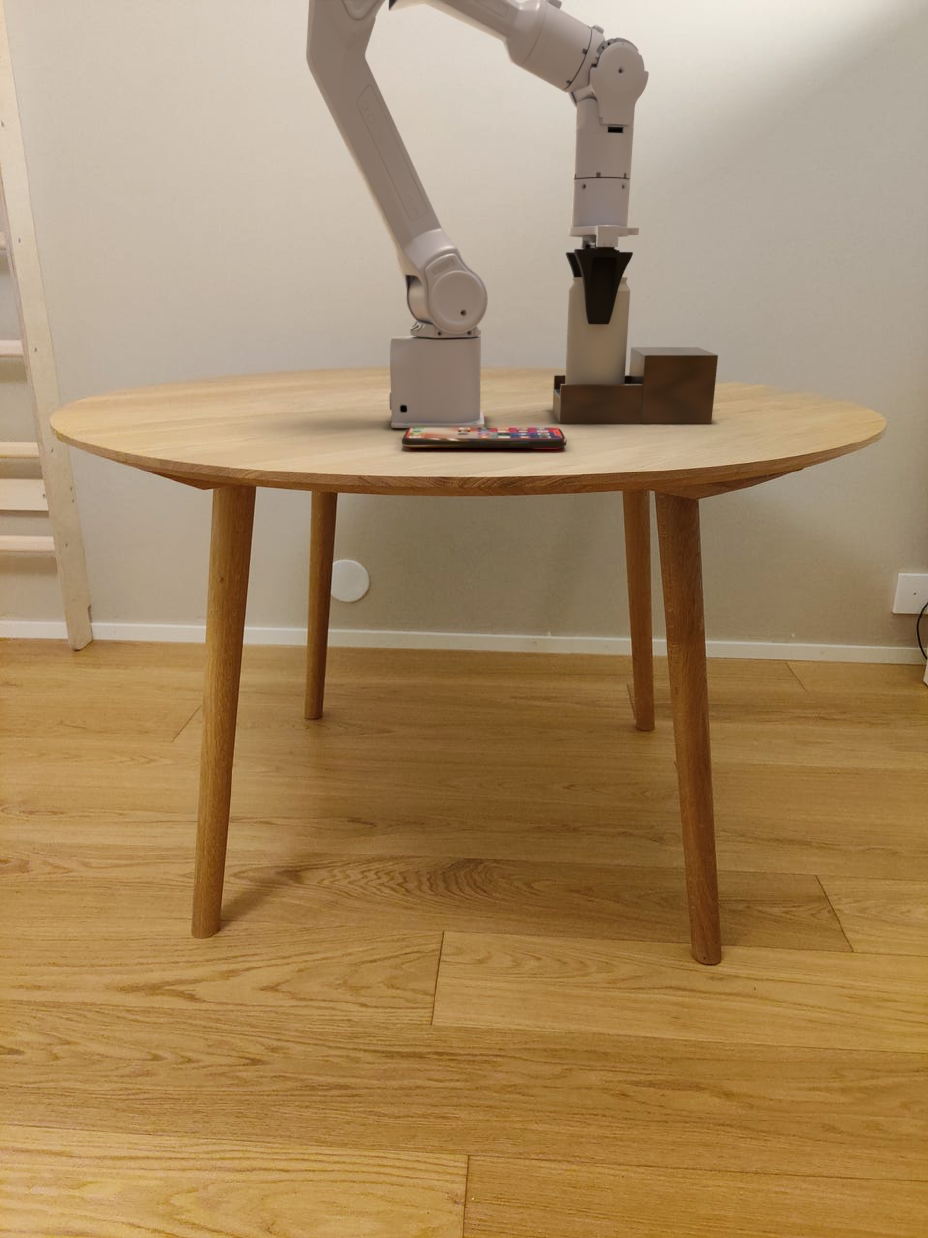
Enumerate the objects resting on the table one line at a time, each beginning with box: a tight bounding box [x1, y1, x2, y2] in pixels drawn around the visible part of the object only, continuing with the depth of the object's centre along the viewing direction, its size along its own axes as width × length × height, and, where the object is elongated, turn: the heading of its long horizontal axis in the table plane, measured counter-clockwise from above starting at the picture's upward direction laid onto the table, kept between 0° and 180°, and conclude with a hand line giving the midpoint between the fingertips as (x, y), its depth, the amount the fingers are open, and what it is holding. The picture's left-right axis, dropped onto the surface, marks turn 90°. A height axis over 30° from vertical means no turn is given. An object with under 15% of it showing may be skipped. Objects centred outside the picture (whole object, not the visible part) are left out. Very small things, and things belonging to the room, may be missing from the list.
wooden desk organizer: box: [552, 346, 719, 425], centre depth 100 cm, size 16×9×7 cm, turn 90°
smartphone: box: [401, 426, 567, 450], centre depth 86 cm, size 7×1×15 cm
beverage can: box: [565, 276, 631, 384], centre depth 98 cm, size 6×6×12 cm
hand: (593, 321), depth 98 cm, fingers open, 7 cm apart
